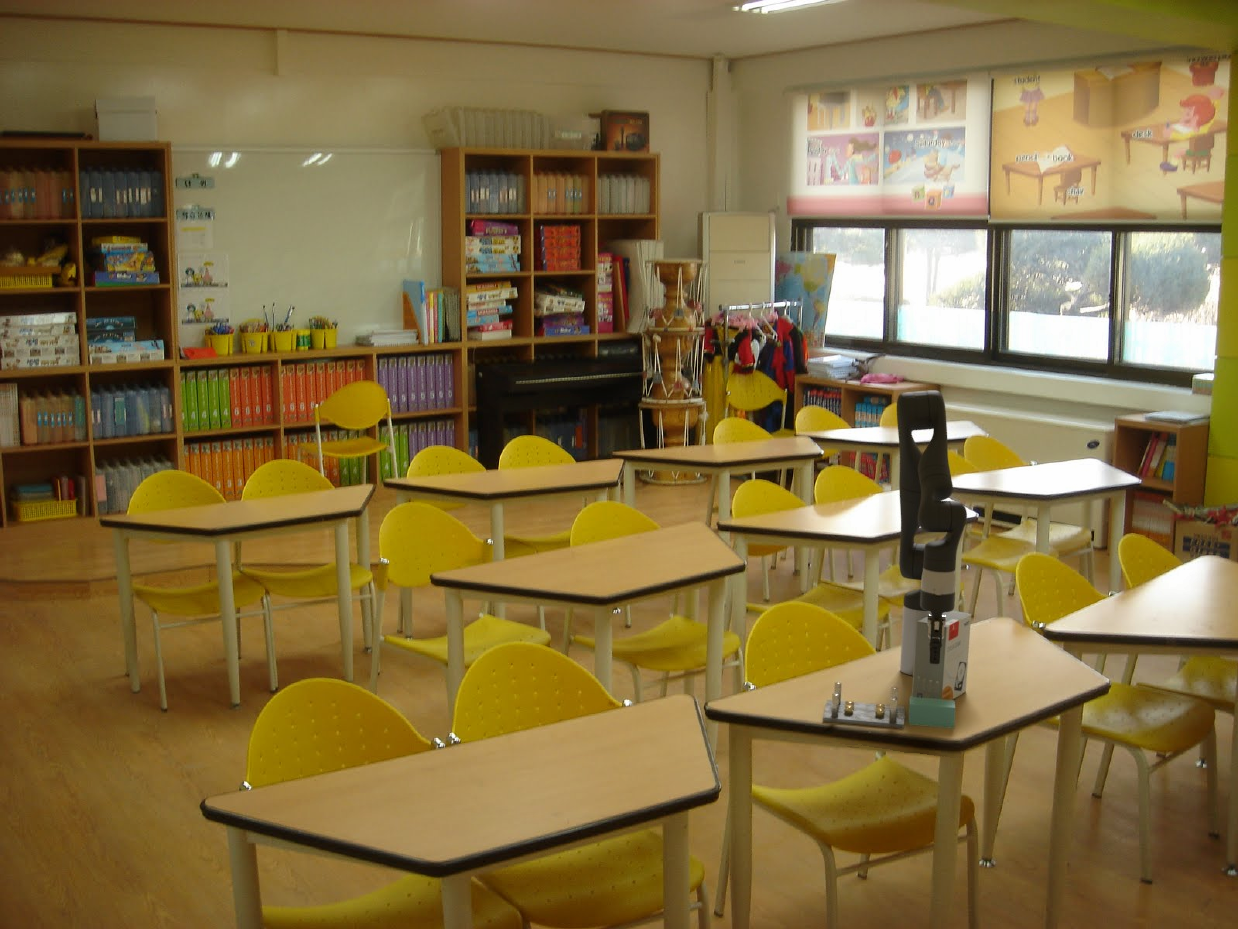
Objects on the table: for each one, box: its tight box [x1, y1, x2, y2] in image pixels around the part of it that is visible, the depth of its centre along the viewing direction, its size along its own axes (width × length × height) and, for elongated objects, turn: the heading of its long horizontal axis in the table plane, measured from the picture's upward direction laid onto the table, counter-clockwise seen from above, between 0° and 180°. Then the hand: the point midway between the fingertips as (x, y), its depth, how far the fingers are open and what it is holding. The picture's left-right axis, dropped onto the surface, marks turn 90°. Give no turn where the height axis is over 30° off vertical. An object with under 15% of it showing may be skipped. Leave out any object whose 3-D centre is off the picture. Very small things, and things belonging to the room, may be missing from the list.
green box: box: [908, 696, 956, 729], centre depth 298 cm, size 5×10×5 cm, turn 78°
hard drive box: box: [911, 610, 972, 700], centre depth 313 cm, size 16×8×20 cm, turn 143°
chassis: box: [822, 681, 906, 730], centre depth 301 cm, size 12×18×6 cm, turn 77°
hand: (934, 657), depth 295 cm, fingers open, 8 cm apart
